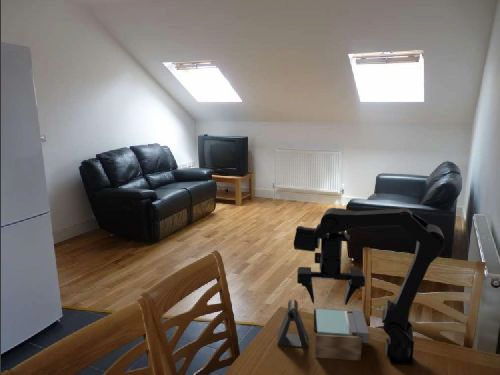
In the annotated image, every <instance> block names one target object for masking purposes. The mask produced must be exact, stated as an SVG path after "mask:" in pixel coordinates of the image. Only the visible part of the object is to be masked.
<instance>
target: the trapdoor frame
mask: <svg viewBox="0 0 500 375" xmlns="http://www.w3.org/2000/svg"><path fill="white" fill-rule="evenodd" d="M316 309H317V308H314V309H313V330H314V331H317V320H316ZM323 309H324V310H335V309H332V308H329V309H328V308H323ZM338 310H339V311H347V313H352V310H353V309H351V310H350V309H348V310H347V309H338ZM314 343H315V348H314V352H315V353H314V357H315V358H318V359H319V358H320V359H333V360H334V359H335V360H346V361H347V360H349V361H361V360H362V345H363V342H362V336H356V335H355V334H352V336H346V335H329V334H317V333H315V342H314Z"/></svg>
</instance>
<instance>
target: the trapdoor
mask: <svg viewBox="0 0 500 375" xmlns="http://www.w3.org/2000/svg"><path fill="white" fill-rule="evenodd" d="M315 309H316V320H317V330H316V334H329V335H346V336H352V334H355V335H356V336H362V344H363V343H366V344H368V343H369V339H370V332H369V328H368V324H367V322H366V318H365V315H364V311H363V310H362V309H351V310H352V313H347V311H339V310H340V309H334V310H324V309H325V308H315Z"/></svg>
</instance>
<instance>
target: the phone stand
mask: <svg viewBox="0 0 500 375" xmlns="http://www.w3.org/2000/svg"><path fill="white" fill-rule="evenodd" d="M292 304H293V305H294V307H292V306H293V305H292ZM292 322H294V323H295V327H296V330H297V333H288V331H289V328H290V325H291V323H292ZM276 345H277V346H278V347H287V348H288V347H289V348H292V347H293V348H306V349H307V348H309V346H308V345H309V344H308V332H307V330H306V327H305V325H304V322H303V320H302V318H301V314H300V312H299V303H298V301H297V300H296V299H294V303H293V302H292V299H290V300H289V301H288V302H287V310H286V313H285V315H284V317H283V320H282V322H281V325H280V327H279V330H278V332H277V342H276Z"/></svg>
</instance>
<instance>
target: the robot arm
mask: <svg viewBox="0 0 500 375" xmlns="http://www.w3.org/2000/svg"><path fill="white" fill-rule="evenodd" d="M378 227H380V228H381V227H384V228H385V227H402V228H403V230H405V231H406V232H407V233H408V234H409V235H411V237H412V238H414V239H415V241H416V243H415V244H416V245H415V251H414V256H413V258H412V261H411V263H410V265H409V268H408V270H407V272H406V275H405V276H404V279H403V282H402V284H401V287H400V289H399V291H398V293H397V295H396V298H394V300H393V301H391V300H390V299H387V300H386V304H385V307H384V308H383V309H382V316H381V317H382V318H381V322H382V324H383V326H382V327H383V331H384V332H385V334H386V335H387V336H388V337H387V338H386V339H385V348H384V351H385V355H386V357H387V358H388V361H389V363H390V364H394V365H410V366H414V365H415V361H414V351H415V350H414V349H415V340H414V331H413V330H414V329H413V328H414V327H413V324H412V323H411V321H409V318H410V317H409V316H410V310H411V307H412V305H413V303H414V300H415V298H416V295H417V293H418V292H419V290H420V287H421V284H422V283H423V280H424V278H425V276H426V273H427V271H428V269H429V266H430V265H431V264H432V263H433V262H434V261H435V260H436V259H437V258H438V257H439V255H440V254H441V253H442V252H443V250H444V248H445V246H446V240H445V237H444V234H443V231H442V229H441V228H440V227H439V226H438V225H435V224H430V223H428V222H427V221H426V220H424V218H422V217H420V216H418V215H416V214H415V213H414V212H412V211H411V210H410V209H409V208H407V207H401V208H392V209H378V210H377V209H376V210H374V209H373V210H359V211H357V210H356V211H355V210H350V209H347V208H346V209H345V208H340V207H330V208H328V209H327V210H326V211H325V212H324V213H323V215H322V217H321V219H320V223H319V224H317V226H316V227H315V228H314V227H307V226H306V227H305V226H302V225H297V227H296V228H295V230H296V231H295V235H294V240H293V248H294V250H297V251H305V252H314V259H313V260H314V264H319V271H312V267H311V266H310V267H309V266H299V267H298V268H297V275H296V276H297V282H296V283H297V284H299V285H301V286H302V287H305V288H306V290H307V292H308V294H309V297H310V299H311V303H312V304H315V295H314V294H315V292H314V287H313V280H334V281H335V280H337V281H346V289H345V293H344V294H345V295H344V305H345V306H347V305H348V303H349V300H350V299H351V298H352V296H353V295H354V294H355V292H356V290H360V289H361V288H364V287H365V286H366V276H365V273H364V271H363V270H362V269H360V268H359V269H358V268H349V269H348V272H342V255H343V254H342V252H343V251H342V250H343V249H342V248H343V242H349V240H350V234H349V233H347V232H346V231H349V230H353V229H357V228H378ZM320 244H321V245H320ZM319 248H320V252H316V249H318V250H319Z"/></svg>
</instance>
